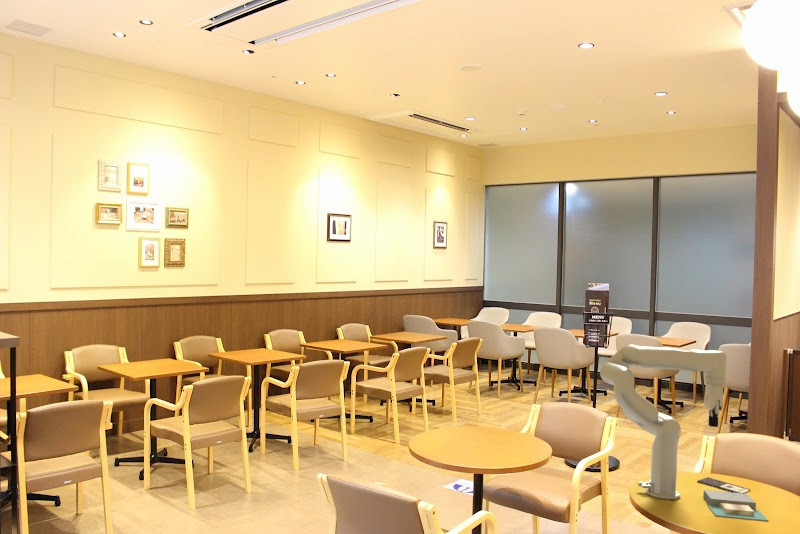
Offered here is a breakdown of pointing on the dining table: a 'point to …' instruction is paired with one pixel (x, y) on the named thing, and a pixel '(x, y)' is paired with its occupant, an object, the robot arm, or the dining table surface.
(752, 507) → the gray block
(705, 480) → the chocolate bar
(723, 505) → the brass tile
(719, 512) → the teal mat
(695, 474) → the dining table surface
